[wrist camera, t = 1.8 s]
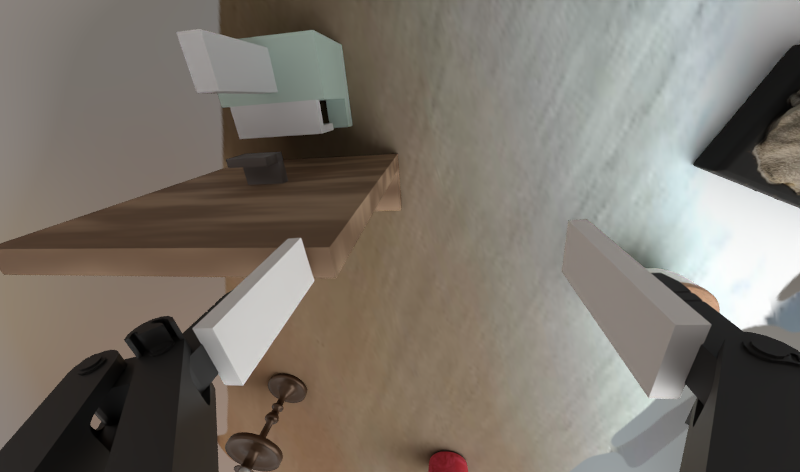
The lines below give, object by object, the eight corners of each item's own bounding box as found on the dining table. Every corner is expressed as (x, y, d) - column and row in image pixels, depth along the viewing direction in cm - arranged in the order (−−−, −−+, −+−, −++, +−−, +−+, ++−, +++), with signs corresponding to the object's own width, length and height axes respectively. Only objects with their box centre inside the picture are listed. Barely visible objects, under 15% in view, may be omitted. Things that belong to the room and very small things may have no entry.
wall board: (237, 141, 43) (-51, 206, 18) (396, 131, 39) (318, 193, 14) (258, 210, 47) (55, 339, 22) (401, 207, 44) (351, 354, 19)
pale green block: (253, 54, 37) (111, 23, 21) (341, 44, 35) (260, 2, 19) (272, 131, 41) (165, 153, 25) (352, 125, 39) (292, 145, 23)
